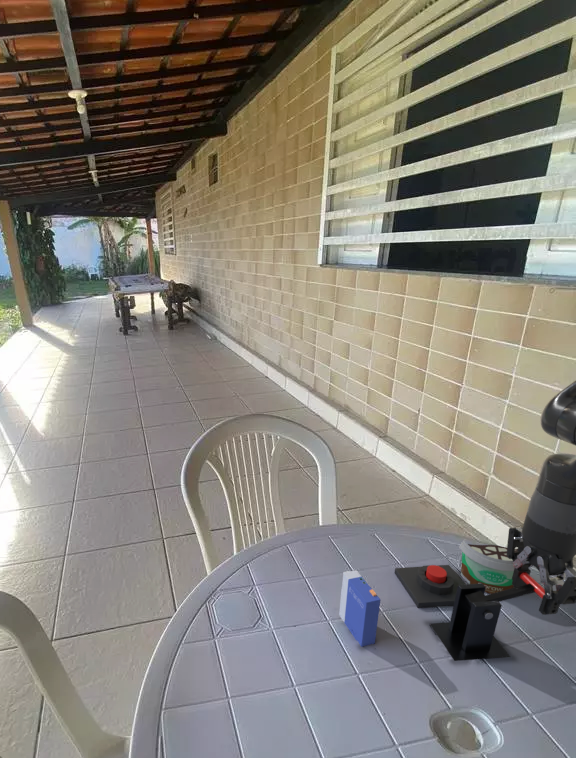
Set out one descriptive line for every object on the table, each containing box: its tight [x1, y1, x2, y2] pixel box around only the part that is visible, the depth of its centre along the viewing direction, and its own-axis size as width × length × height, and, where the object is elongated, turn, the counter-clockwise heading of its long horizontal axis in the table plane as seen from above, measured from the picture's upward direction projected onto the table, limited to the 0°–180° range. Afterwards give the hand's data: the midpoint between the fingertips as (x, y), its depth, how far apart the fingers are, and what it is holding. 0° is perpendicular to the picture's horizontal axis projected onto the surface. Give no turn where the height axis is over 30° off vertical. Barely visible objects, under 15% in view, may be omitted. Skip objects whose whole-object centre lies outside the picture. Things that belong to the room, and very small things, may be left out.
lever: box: [465, 573, 545, 610], centre depth 73 cm, size 12×6×2 cm, turn 92°
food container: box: [458, 539, 518, 594], centre depth 87 cm, size 12×6×10 cm, turn 76°
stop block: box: [393, 564, 467, 609], centre depth 89 cm, size 12×10×4 cm
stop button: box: [426, 564, 447, 584], centre depth 88 cm, size 4×4×2 cm
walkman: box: [338, 569, 381, 648], centre depth 79 cm, size 8×3×12 cm, turn 11°
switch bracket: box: [428, 583, 512, 662], centre depth 75 cm, size 10×8×12 cm
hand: (531, 598), depth 74 cm, fingers closed on lever, 5 cm apart
